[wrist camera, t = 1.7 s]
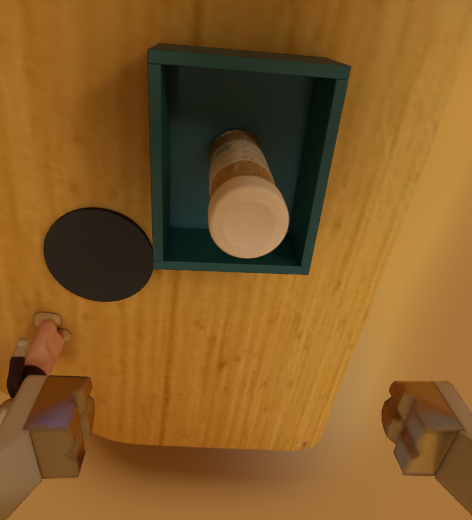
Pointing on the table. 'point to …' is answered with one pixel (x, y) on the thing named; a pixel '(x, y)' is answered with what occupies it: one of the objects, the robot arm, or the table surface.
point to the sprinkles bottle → (243, 198)
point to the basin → (247, 119)
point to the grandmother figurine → (35, 354)
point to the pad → (98, 254)
